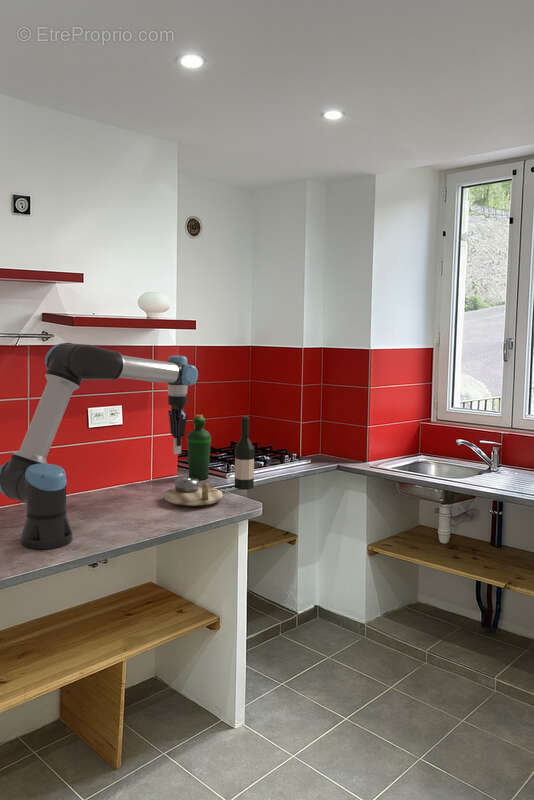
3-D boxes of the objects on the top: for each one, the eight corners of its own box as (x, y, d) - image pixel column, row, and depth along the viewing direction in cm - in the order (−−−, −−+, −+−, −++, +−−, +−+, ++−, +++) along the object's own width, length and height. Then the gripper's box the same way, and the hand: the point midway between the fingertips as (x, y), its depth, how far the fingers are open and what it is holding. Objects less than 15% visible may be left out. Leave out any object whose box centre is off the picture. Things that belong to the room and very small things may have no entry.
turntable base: (183, 509, 240) (183, 505, 240) (165, 498, 253) (165, 495, 253) (221, 503, 249) (221, 500, 249) (202, 493, 262) (202, 490, 262)
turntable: (179, 508, 236) (180, 488, 235) (155, 494, 254) (155, 475, 253) (232, 500, 248) (233, 481, 247) (205, 487, 266) (205, 469, 265)
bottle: (212, 476, 291) (213, 413, 288) (208, 481, 281) (209, 417, 277) (189, 474, 292) (189, 412, 289) (183, 480, 282) (184, 416, 278)
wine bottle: (256, 485, 277) (258, 415, 273) (250, 490, 269) (252, 418, 265) (237, 483, 279) (239, 414, 275) (231, 488, 271) (232, 417, 267)
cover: (181, 494, 250) (181, 482, 249) (171, 488, 257) (171, 477, 256) (202, 491, 254) (202, 479, 254) (191, 485, 262) (192, 474, 261)
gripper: (193, 396, 255) (193, 455, 258) (179, 392, 266) (178, 449, 269) (176, 397, 251) (175, 457, 254) (162, 393, 262) (161, 451, 265)
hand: (177, 453), depth 262 cm, fingers closed
